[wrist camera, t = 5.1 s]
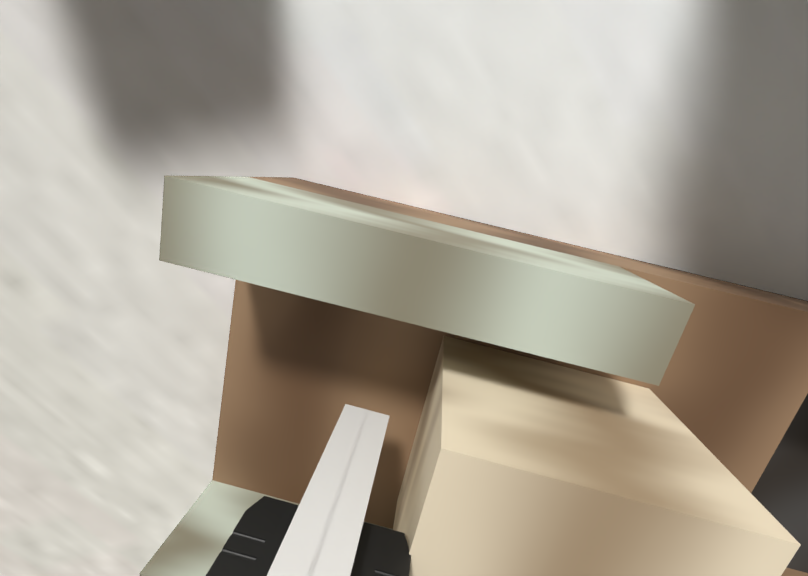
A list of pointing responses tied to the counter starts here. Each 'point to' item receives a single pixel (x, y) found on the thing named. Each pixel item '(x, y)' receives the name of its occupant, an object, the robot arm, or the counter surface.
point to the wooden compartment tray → (465, 320)
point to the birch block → (569, 480)
